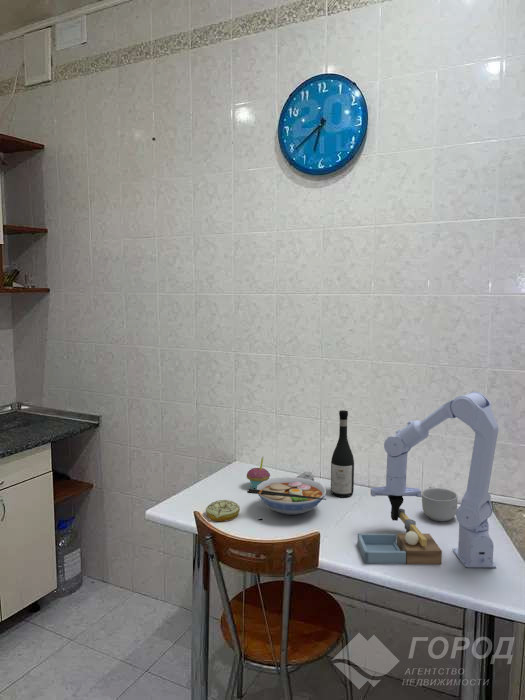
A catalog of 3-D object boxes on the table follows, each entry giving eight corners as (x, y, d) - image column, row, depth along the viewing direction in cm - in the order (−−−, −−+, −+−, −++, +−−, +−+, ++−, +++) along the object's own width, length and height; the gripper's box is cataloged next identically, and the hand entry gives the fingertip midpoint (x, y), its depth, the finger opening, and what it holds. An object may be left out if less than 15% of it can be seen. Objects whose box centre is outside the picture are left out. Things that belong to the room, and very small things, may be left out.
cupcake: (274, 485, 187) (274, 454, 186) (261, 493, 180) (261, 460, 179) (254, 481, 192) (254, 450, 191) (241, 488, 185) (242, 456, 184)
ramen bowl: (333, 501, 173) (334, 478, 172) (323, 530, 151) (324, 504, 150) (263, 494, 179) (263, 471, 179) (243, 520, 157) (243, 495, 157)
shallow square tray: (405, 563, 132) (406, 552, 131) (365, 563, 132) (365, 552, 131) (395, 544, 142) (395, 533, 142) (357, 543, 142) (357, 533, 142)
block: (441, 563, 132) (441, 549, 131) (406, 563, 132) (407, 548, 131) (426, 541, 144) (426, 527, 144) (394, 541, 144) (394, 527, 144)
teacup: (459, 526, 154) (460, 501, 153) (422, 523, 156) (423, 498, 155) (452, 508, 168) (452, 485, 167) (418, 505, 170) (418, 482, 169)
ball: (420, 547, 133) (420, 534, 133) (407, 547, 133) (407, 534, 133) (416, 541, 137) (416, 528, 136) (403, 541, 137) (403, 528, 136)
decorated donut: (199, 515, 162) (199, 503, 162) (227, 506, 169) (227, 495, 168) (217, 526, 154) (217, 514, 153) (245, 516, 160) (245, 505, 160)
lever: (429, 545, 132) (430, 538, 132) (418, 546, 132) (419, 538, 132) (404, 514, 152) (404, 508, 152) (394, 514, 152) (394, 508, 151)
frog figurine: (311, 494, 179) (311, 475, 178) (292, 491, 182) (292, 472, 181) (316, 489, 184) (317, 470, 184) (298, 486, 187) (299, 467, 187)
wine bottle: (351, 499, 175) (353, 414, 172) (328, 496, 177) (330, 412, 175) (354, 491, 182) (356, 409, 180) (332, 488, 185) (334, 407, 182)
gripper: (416, 470, 153) (414, 513, 154) (369, 470, 153) (367, 513, 154) (424, 478, 146) (422, 524, 147) (374, 478, 146) (372, 523, 147)
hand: (394, 519), depth 150 cm, fingers closed, pressing on lever
